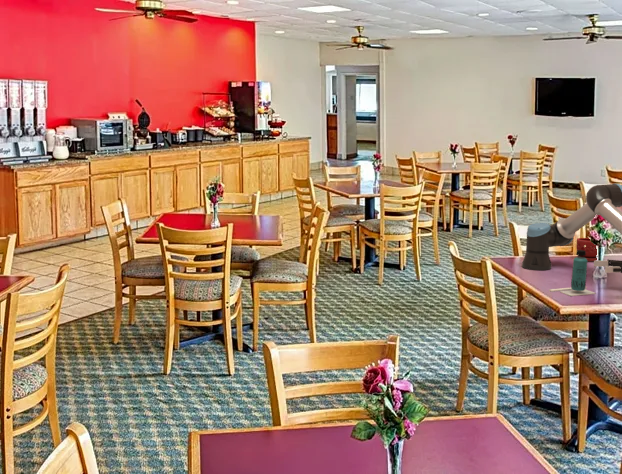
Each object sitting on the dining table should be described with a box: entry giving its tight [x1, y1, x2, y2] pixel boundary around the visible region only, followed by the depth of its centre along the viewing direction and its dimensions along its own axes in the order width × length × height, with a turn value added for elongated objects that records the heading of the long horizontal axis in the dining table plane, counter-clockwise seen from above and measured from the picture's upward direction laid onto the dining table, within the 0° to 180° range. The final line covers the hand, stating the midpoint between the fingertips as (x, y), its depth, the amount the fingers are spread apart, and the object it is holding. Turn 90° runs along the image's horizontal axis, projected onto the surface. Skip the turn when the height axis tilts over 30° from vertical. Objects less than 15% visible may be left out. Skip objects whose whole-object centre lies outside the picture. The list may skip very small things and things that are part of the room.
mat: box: [559, 288, 597, 297], centre depth 371 cm, size 8×14×1 cm, turn 110°
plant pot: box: [576, 237, 598, 263], centre depth 443 cm, size 13×13×12 cm
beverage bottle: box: [570, 249, 588, 291], centre depth 369 cm, size 6×7×20 cm
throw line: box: [548, 286, 588, 293], centre depth 377 cm, size 2×20×1 cm, turn 110°
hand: (599, 266), depth 369 cm, fingers open, 13 cm apart
